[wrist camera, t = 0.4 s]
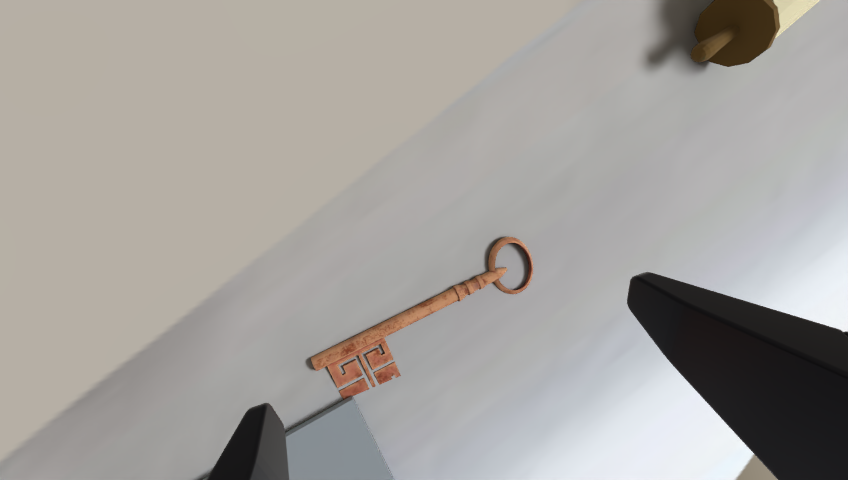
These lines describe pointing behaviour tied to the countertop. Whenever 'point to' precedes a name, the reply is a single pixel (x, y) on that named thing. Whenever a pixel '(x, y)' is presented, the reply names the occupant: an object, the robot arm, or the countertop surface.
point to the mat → (335, 447)
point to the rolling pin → (743, 28)
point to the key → (400, 321)
